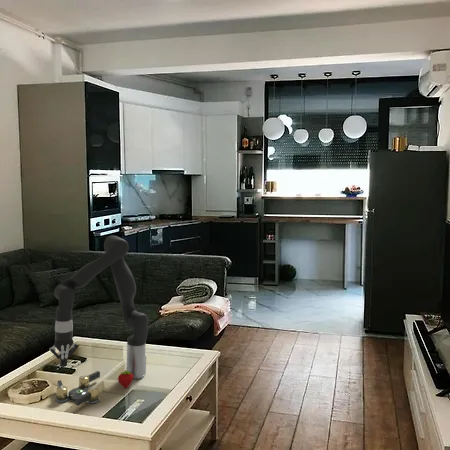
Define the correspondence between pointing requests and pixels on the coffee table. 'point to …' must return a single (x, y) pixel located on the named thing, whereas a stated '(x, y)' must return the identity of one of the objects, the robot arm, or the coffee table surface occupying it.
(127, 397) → the coffee table surface
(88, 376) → the footscrew back
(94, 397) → the foot screw
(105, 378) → the coffee table surface
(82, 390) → the levelling base
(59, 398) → the foot screw
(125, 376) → the strawberry
